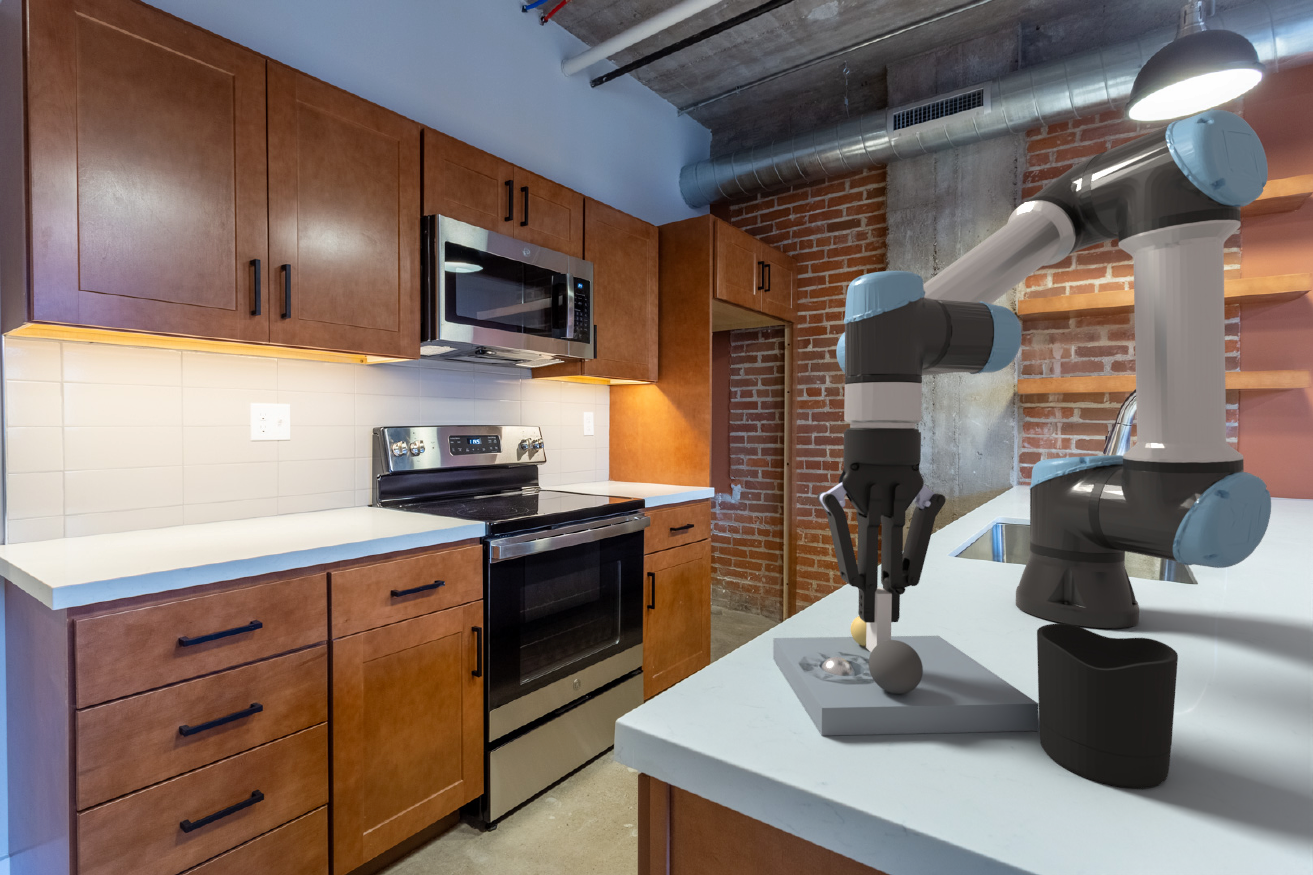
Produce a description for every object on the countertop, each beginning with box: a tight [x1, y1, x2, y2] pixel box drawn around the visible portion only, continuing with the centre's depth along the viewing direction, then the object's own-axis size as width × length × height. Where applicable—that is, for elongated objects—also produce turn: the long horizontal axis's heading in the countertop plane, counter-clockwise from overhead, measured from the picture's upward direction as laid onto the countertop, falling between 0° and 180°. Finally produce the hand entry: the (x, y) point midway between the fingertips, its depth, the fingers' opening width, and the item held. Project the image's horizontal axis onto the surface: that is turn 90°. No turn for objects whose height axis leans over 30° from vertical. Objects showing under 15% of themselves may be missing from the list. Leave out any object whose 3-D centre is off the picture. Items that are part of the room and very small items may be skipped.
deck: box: [772, 635, 1039, 736], centre depth 65 cm, size 20×18×2 cm
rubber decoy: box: [869, 640, 923, 694], centre depth 59 cm, size 5×5×5 cm
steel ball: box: [821, 657, 855, 676], centre depth 65 cm, size 4×4×4 cm
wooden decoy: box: [850, 615, 867, 647], centre depth 71 cm, size 4×4×4 cm
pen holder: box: [1036, 623, 1179, 789], centre depth 52 cm, size 9×9×10 cm
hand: (878, 651), depth 65 cm, fingers closed
